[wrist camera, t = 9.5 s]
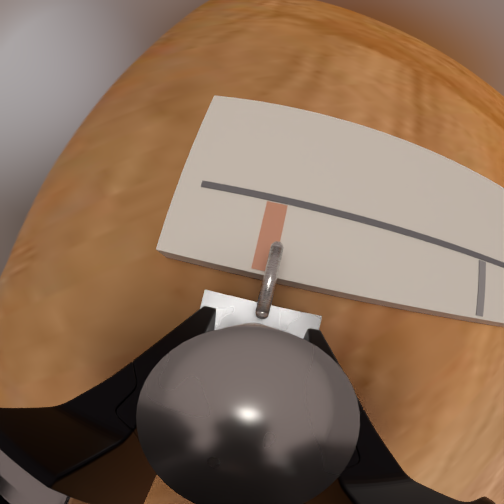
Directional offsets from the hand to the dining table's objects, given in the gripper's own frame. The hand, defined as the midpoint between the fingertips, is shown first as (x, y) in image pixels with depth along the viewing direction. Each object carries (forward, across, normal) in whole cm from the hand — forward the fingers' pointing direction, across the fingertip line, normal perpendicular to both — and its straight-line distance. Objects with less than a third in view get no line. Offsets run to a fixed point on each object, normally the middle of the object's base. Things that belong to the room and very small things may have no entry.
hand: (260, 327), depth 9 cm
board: (+12, -8, -1) cm, 14 cm away
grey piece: (+5, 0, +5) cm, 7 cm away
